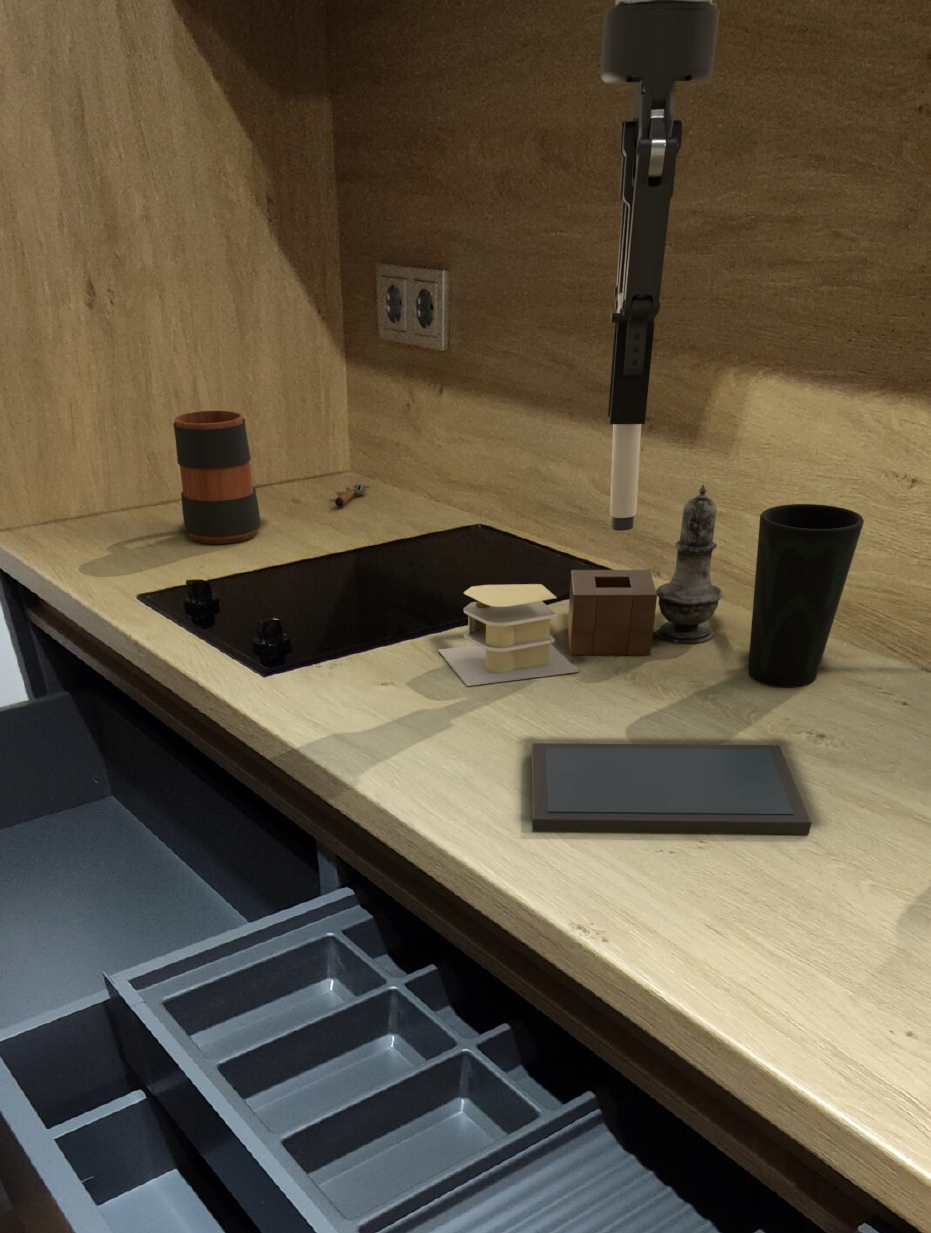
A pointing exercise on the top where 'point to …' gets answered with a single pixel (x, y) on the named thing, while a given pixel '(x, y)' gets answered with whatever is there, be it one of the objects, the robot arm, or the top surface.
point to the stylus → (624, 471)
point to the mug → (216, 477)
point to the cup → (798, 589)
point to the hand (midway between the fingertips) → (625, 418)
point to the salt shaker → (691, 577)
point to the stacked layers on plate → (507, 636)
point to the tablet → (665, 789)
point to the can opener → (349, 494)
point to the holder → (611, 612)
